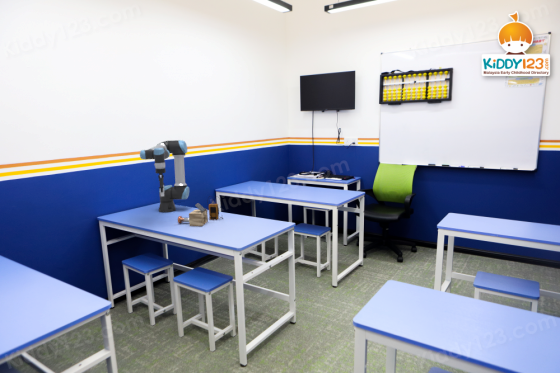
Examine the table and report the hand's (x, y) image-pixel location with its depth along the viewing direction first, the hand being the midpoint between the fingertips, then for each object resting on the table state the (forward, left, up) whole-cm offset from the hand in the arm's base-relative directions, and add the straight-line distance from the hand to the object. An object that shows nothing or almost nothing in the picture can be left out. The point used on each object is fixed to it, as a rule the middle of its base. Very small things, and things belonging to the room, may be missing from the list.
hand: (162, 194), depth 278 cm
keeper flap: (-4, +29, -11) cm, 31 cm away
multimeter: (-21, +35, -25) cm, 48 cm away
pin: (-4, +18, -24) cm, 30 cm away
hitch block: (-4, +27, -24) cm, 37 cm away
